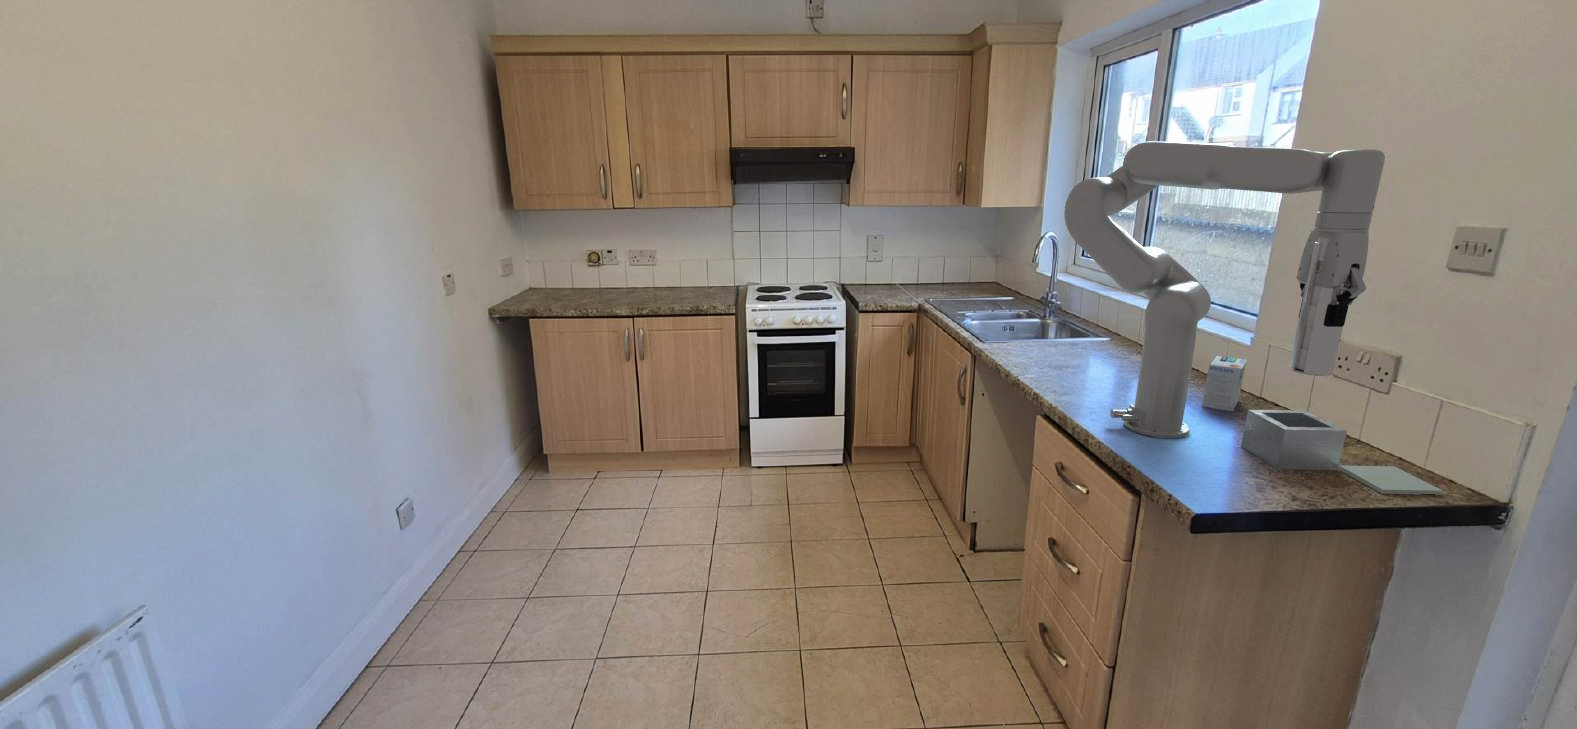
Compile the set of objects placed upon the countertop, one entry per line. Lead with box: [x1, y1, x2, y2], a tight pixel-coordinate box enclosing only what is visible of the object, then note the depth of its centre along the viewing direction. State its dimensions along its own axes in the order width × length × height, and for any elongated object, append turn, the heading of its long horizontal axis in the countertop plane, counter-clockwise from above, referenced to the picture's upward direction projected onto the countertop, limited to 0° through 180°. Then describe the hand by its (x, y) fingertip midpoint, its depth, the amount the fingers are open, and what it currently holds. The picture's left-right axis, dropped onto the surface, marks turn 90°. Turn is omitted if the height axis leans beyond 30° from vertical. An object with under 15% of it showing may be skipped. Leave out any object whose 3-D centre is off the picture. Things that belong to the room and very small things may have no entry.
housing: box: [1240, 409, 1348, 471], centre depth 127 cm, size 11×11×8 cm
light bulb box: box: [1201, 355, 1248, 413], centre depth 158 cm, size 11×7×11 cm, turn 141°
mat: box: [1337, 464, 1444, 496], centre depth 118 cm, size 10×10×1 cm
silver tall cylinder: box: [1288, 237, 1349, 377], centre depth 119 cm, size 6×6×25 cm
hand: (1320, 321), depth 120 cm, fingers closed on silver tall cylinder, 5 cm apart
